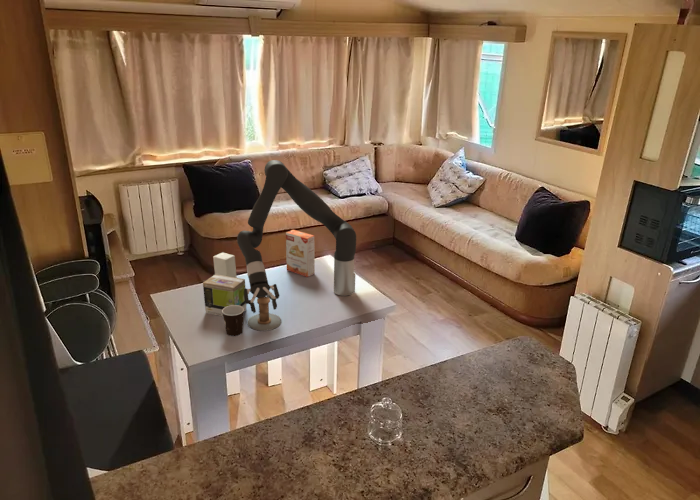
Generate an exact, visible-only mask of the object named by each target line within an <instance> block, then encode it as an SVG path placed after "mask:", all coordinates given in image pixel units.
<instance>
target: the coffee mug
mask: <svg viewBox="0 0 700 500" xmlns="http://www.w3.org/2000/svg"><path fill="white" fill-rule="evenodd" d="M222 313H223V316H222V317H223V318H222V319H223V322H224V328H225V333H226V335H227V336H229V337H238V336H240V335H242V334H243V332H244V331H243V330H244V318H245V311H244V308H243V307H242V306H239V305H231V306H227V307H225V308H223V310H222Z"/></svg>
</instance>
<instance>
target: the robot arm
mask: <svg viewBox="0 0 700 500" xmlns="http://www.w3.org/2000/svg"><path fill="white" fill-rule="evenodd" d="M263 171H264V174H265V175H264V176H265V179H264V184H263V188H262V190H261V193H260V195H259V197H258V199H257V200H256V201H255V203H254V204H253V206H252V209H251V212H250V214H249V217H248V221H247V224H248V225H249V226H250V227H251V228H252V231H250V230H245V229H244V230H241V231H239V232H238V233H237V237H236V242H237V245H238V247H239V250H240V251H241V254H242V255H243V257H244V260H245V265H246V273H247V278H248V283H249V287H250V288H246V287H245V289H244V291H243V292H244V299H245V303H246V305H250V311H251V312H253V314H255V313H257V310H256V309H257V308H256V307H255V302H254V301H255V300H256V298H257V299H258V298H259V297H263V296H265V297H269V298H270V301H271V304H272V305H271V306H272V308H273V310H276V309H277V308H278V304H277V300H279V298H280V296H281V295H280V293H279V289H278V286H277V284H276V283H274V284H272V285H270V284H269V280H268V276H267V272H266V268H265V265H264V262H263V256H262V253H261V251H260V250H258V249H256V248H258V247H259V246H260V245H261V244H262V241H263V234H264V226H265V225H266V224H265V223H266V221H267V219H268V216H269V214H270V211H271V209H272V206H273V204H274V202H275V199H276V197H277V195H278V194H279V191H280V190H281V189H282V190H284V192H286V194H287V195H288V196H289V197H290V199H291V200H292V201H293V202H294V203H295V204H296V206H297V207H298V208H300V209H301V211H303V212H304V213H305V214H307V216H309V217H310V218H312V219H313V220H315V221H316V222H319V223H320V224H321V225H323V226H325V228H326V229H327V230H328V231H329V232H330V233H331V234H332V236H333V237H334V239H335V251H334V252H333V253H334V254H333V257H334V258H333V261H334V265H333V293H334V294H336V295H338V296H341V297H344V296H350V295H352V294H355V293H356V273H355V255H356V253H357V252H356V250H357V233H356V231H355V229H354V228H353V226H352V225H351V224H350V223H348V222H347V221H346V220H344V218H342V217H340V216H339V215H337V214H336V213H335V212H334V210H332V208H331V207H330V206H329V205H328V204H327V203H326V201H324V200H323V199H322V198H321V197H320V196H319V195H318V194H317V193H316V192H315V191H313V190H312V189H311V188H309V187H308V186H307V185H306V184H305V183H303V182H301V181H300V180H299V179H297V178H296V176H294V174H293V173H292V172H291V171H290V170H289V169H288V168H287V167H286V166H285V163H283V162H282V161H280V160H277V159H273V160H272V159H271V160H269V161H268V162H267V163H265V167H264V170H263ZM270 290H272V291H273V293H274V294H273V293H272V292H271V291H270ZM249 294H252V297H251V299H249Z"/></svg>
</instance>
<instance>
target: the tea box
mask: <svg viewBox="0 0 700 500" xmlns="http://www.w3.org/2000/svg"><path fill="white" fill-rule="evenodd" d="M202 287H203V299H204V310H205V311H204V312H205V313H206V314H209V315H215V316H218V317H219V316H220V317H223V313H222V310H223V308H225V307H227V306H231V305H239V306H242V307H243V308H244V312H246V310H247V304H246V303H245V299H244V292H243V291H244V289H245V288H246V279H244V278H240V277H237V278H234V277H228V276H222V275H216V274H215V273H214V274H213V275H212V276H210V277H209V278H207V279H206V280H204V281H203V282H202Z"/></svg>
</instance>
